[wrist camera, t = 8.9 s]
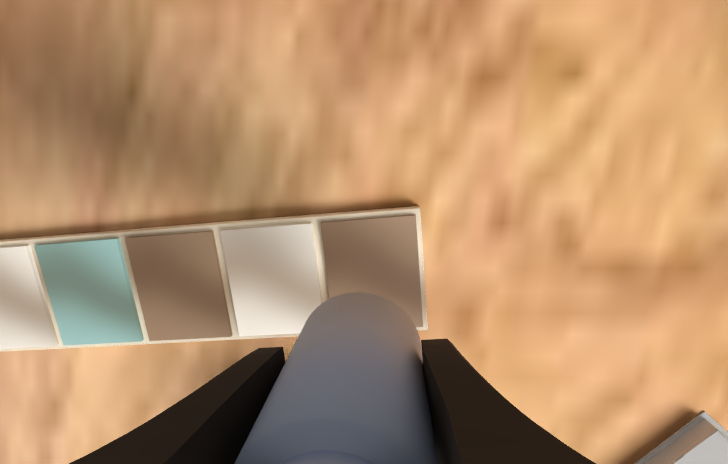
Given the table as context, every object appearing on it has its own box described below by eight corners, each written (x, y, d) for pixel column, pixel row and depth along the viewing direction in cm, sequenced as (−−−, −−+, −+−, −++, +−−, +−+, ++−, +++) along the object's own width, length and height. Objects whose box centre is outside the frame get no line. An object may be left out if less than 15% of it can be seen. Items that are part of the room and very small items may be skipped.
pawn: (419, 406, 11) (459, 808, 4) (302, 400, 11) (168, 772, 5) (423, 294, 10) (478, 565, 4) (297, 290, 11) (130, 539, 4)
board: (426, 323, 18) (428, 331, 17) (-5, 346, 20) (-21, 354, 19) (419, 205, 17) (420, 209, 16) (-40, 242, 19) (-59, 247, 18)
